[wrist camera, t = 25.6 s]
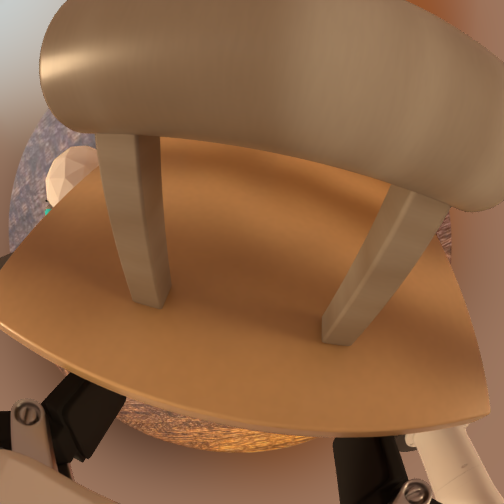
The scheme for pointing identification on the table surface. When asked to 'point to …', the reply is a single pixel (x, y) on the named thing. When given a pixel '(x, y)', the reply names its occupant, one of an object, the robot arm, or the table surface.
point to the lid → (265, 212)
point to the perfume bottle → (69, 172)
